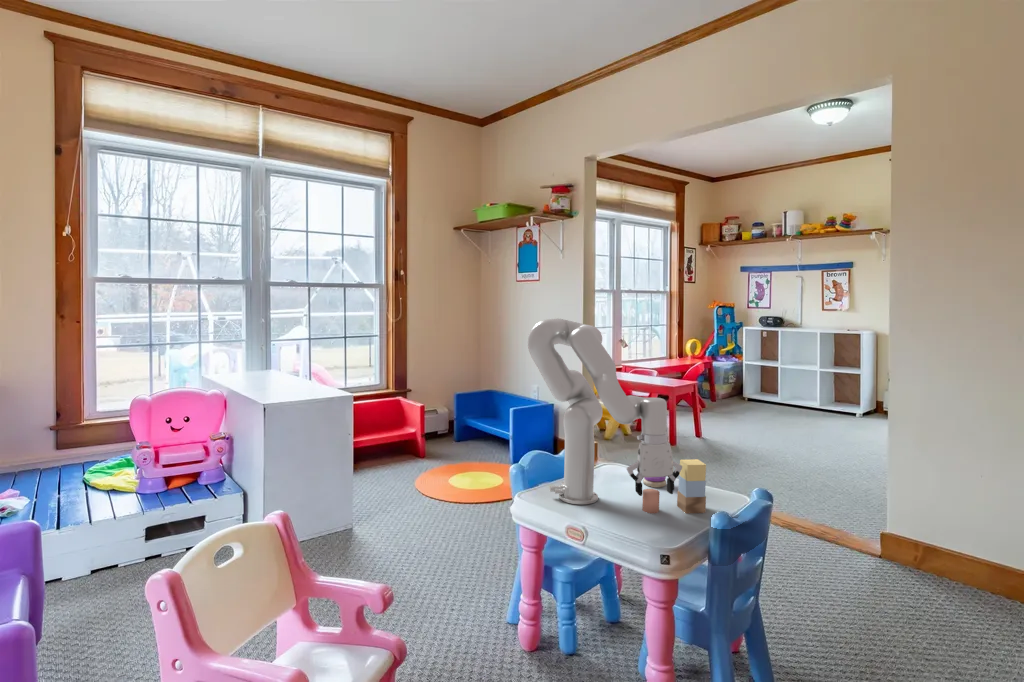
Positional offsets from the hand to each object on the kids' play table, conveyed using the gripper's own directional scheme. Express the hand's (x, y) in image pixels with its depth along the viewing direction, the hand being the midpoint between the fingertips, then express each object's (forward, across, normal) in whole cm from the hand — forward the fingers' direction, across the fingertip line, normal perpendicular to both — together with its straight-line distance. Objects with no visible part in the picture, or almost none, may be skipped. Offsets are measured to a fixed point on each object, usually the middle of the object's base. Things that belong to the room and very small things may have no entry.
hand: (654, 493), depth 180 cm
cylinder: (+5, -1, +1) cm, 6 cm away
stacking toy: (+6, +9, +25) cm, 27 cm away
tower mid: (+1, +12, +1) cm, 12 cm away
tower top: (-4, +12, 0) cm, 13 cm away
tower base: (+6, +12, +1) cm, 13 cm away
